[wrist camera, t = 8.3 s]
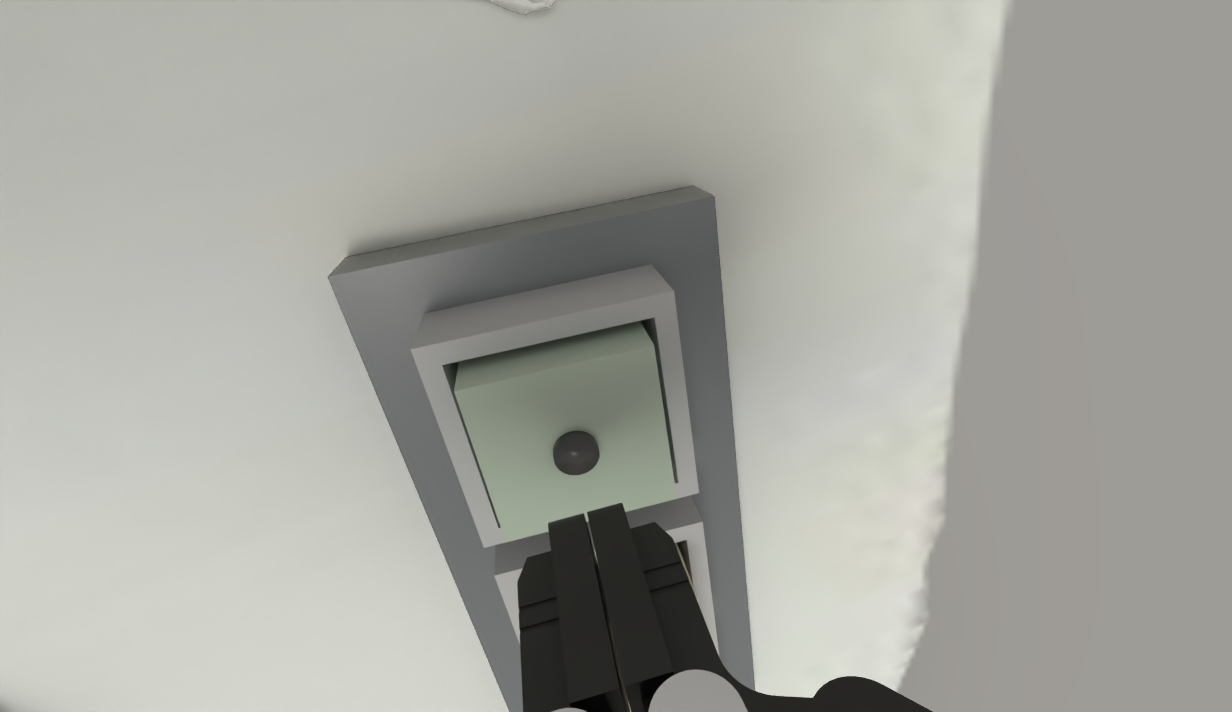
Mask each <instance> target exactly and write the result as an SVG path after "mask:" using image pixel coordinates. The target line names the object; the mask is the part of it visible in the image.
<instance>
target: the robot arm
mask: <svg viewBox="0 0 1232 712" xmlns="http://www.w3.org/2000/svg"><path fill="white" fill-rule="evenodd" d="M587 515H588V520H589V524H590V529H591V534H592V538H593V543H594V548H595V552H596V556H595V552H594V548H593V544H592V541H591V537H590V533H589V529H588V526H587V522H586V518H585V515H584V513H582V514H578V515H575V516H571V517H567V518H564V519H560V520H556V521H553V522H549V523H548V530H549V539H550V547H551V551H548V552H545V553H541V554H538V555H534V556H530V557H527V559H526V561H525V564H524V566H523V569H522V571H521V574H520V576H519V579H518V581H517V588H518V608H519V629H520V654H521V676H522V697H523V712H630V709H631V712H932V711H930V710H928V709H927V708H925V707H923V706H921V705H919V704H917V703H915V702H914V701H912V700H910V699H908V698H906V697H904V696H903V695H901V694H899V693H897V692H895V691H893V690H891V689H890V688H888V687H886V686H884V685H882V684H880V683H878V682H876V681H873V680H870V679H867V678H862V677H856V676H846V677H840V678H836V679H834V680H831V681H829V682H828V683H826V684H824V685H823V686H822V687H821V688H820V689H819V690H818V691H817V693H816V694H815V696H814V697H813V698H804V697H784V696H772V695H766V694H762V693H759V692H756V691H754V690H752V689H749V688H748V687H746V686H744V685H743V684H741V683H740V682H738V681H737V680H736V679H735V678H734V677H733V676H732V675H731V674H730V673H729V672H728V671H727V669H726V668H725V667H724V665H723V664H722V662H721V660H720V657H719V655H718V653H717V650H716V648H715V645H714V642H713V640H712V637H711V635H710V632H709V630H708V627H707V625H706V622H705V619H704V617H703V614H702V612H701V609H700V607H699V604H698V602H697V599H696V596H695V594H694V591H693V589H692V586H691V584H690V582H689V578H688V576H687V573H686V571H685V568H684V566H683V564H682V561H681V558H680V555H679V553H678V550H677V548H676V545H675V543H674V540H673V538H672V537H671V536H670V535H669V534H668V533H667V532H665V531H664V530H663V529H662V528H661V527H660V526H659V525H658V524H657V523H656V522H652V523H649V524H645V525H642V526H638V527H634V528H631V529H630V526H629V523H628V520H627V516H626V513H625V510H624V507H623V504H622V503H618V504H614V505H611V506H607V507H603V508H600V509H596V510H592V511H589V512H587ZM596 557H597V559H596ZM597 562H598V563H597ZM598 566H599V567H598ZM628 702H629V703H628ZM629 705H630V707H629Z"/></svg>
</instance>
